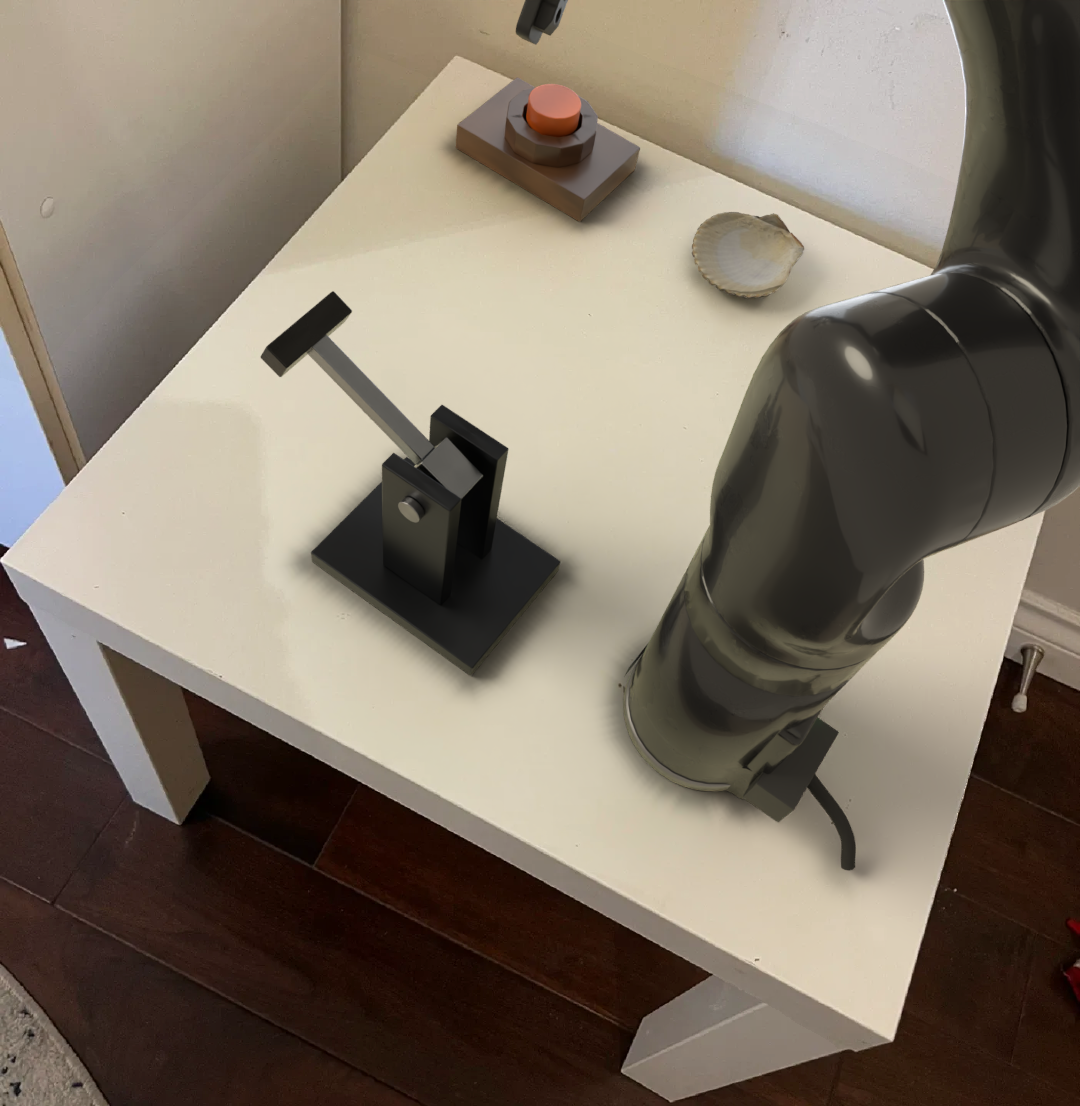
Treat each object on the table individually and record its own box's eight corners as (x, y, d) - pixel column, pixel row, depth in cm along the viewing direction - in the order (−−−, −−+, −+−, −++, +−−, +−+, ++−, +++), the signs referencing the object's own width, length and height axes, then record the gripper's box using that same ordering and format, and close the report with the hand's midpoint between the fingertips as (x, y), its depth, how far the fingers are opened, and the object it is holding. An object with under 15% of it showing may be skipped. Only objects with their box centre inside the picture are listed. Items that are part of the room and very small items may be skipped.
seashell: (674, 263, 81) (723, 319, 76) (673, 229, 79) (724, 285, 74) (767, 228, 82) (822, 282, 78) (769, 194, 80) (826, 247, 75)
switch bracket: (311, 561, 63) (296, 448, 52) (406, 466, 67) (409, 344, 57) (470, 676, 60) (487, 581, 50) (558, 570, 64) (590, 462, 54)
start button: (587, 120, 80) (591, 100, 79) (558, 145, 78) (561, 126, 77) (545, 96, 81) (548, 76, 79) (515, 120, 79) (518, 101, 78)
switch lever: (257, 361, 53) (267, 342, 51) (323, 305, 55) (336, 285, 53) (425, 531, 55) (442, 520, 53) (481, 470, 57) (500, 458, 55)
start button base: (635, 170, 83) (645, 127, 80) (579, 222, 80) (588, 180, 76) (514, 100, 86) (519, 56, 82) (455, 148, 82) (458, 104, 79)
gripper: (395, -531, 40) (272, -78, 45) (736, -396, 39) (567, 50, 44) (451, -416, 47) (339, -36, 52) (741, -299, 46) (595, 75, 51)
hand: (444, 3), depth 48 cm, fingers open, 8 cm apart
